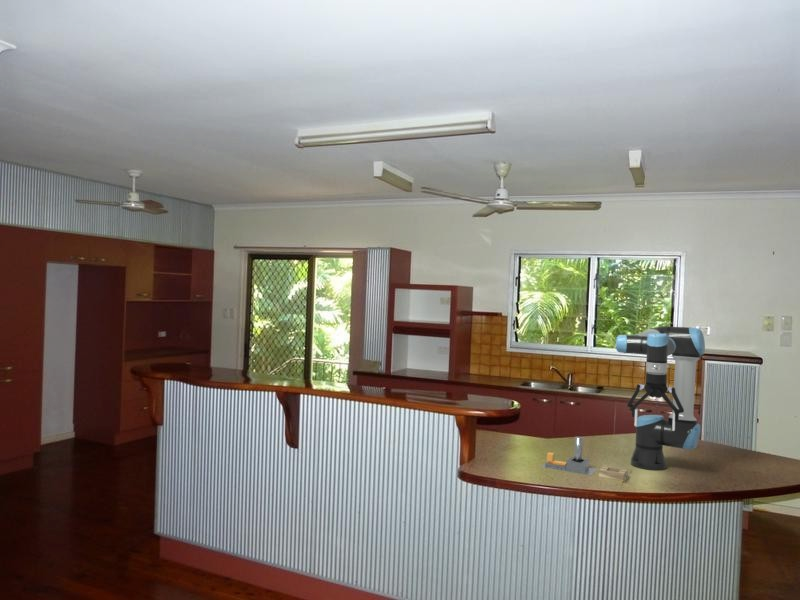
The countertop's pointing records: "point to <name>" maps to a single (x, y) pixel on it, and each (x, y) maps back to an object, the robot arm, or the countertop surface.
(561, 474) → the countertop surface
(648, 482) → the countertop surface
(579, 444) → the peg
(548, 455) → the orange block
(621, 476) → the light wood square frame
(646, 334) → the robot arm
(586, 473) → the socket station
